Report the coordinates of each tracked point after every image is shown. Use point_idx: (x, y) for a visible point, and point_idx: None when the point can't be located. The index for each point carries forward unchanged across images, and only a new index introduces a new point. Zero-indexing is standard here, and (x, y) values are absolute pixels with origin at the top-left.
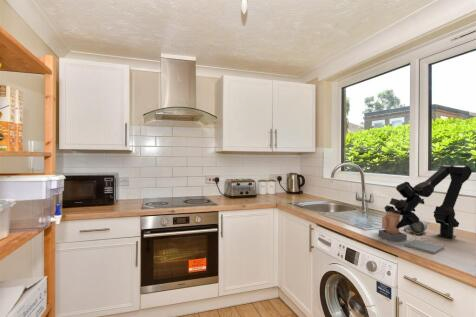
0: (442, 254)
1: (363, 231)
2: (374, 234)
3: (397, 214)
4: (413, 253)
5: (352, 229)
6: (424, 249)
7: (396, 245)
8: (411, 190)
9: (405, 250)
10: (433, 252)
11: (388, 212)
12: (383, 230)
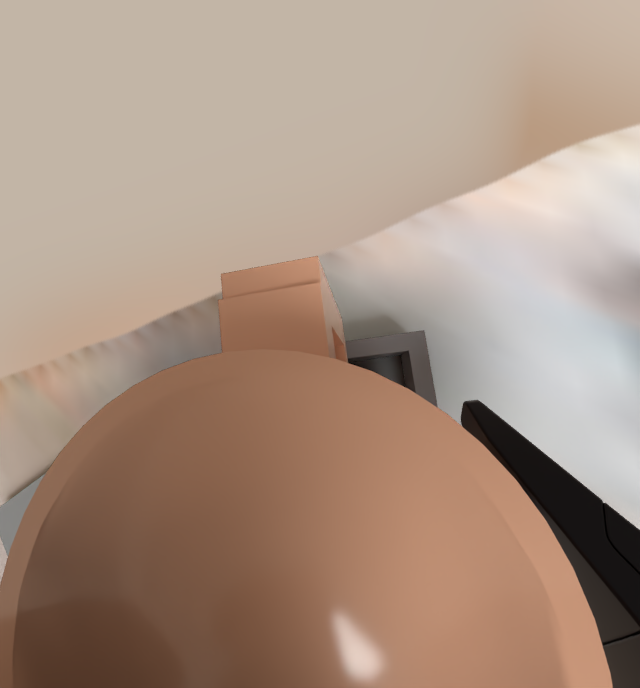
0: (3, 562)
1: (547, 251)
2: (445, 316)
3: (5, 670)
4: (35, 371)
5: (615, 165)
6: (38, 479)
7: (167, 349)
8: None
9: (81, 352)
10: (2, 507)
11: (382, 519)
12: (413, 381)
